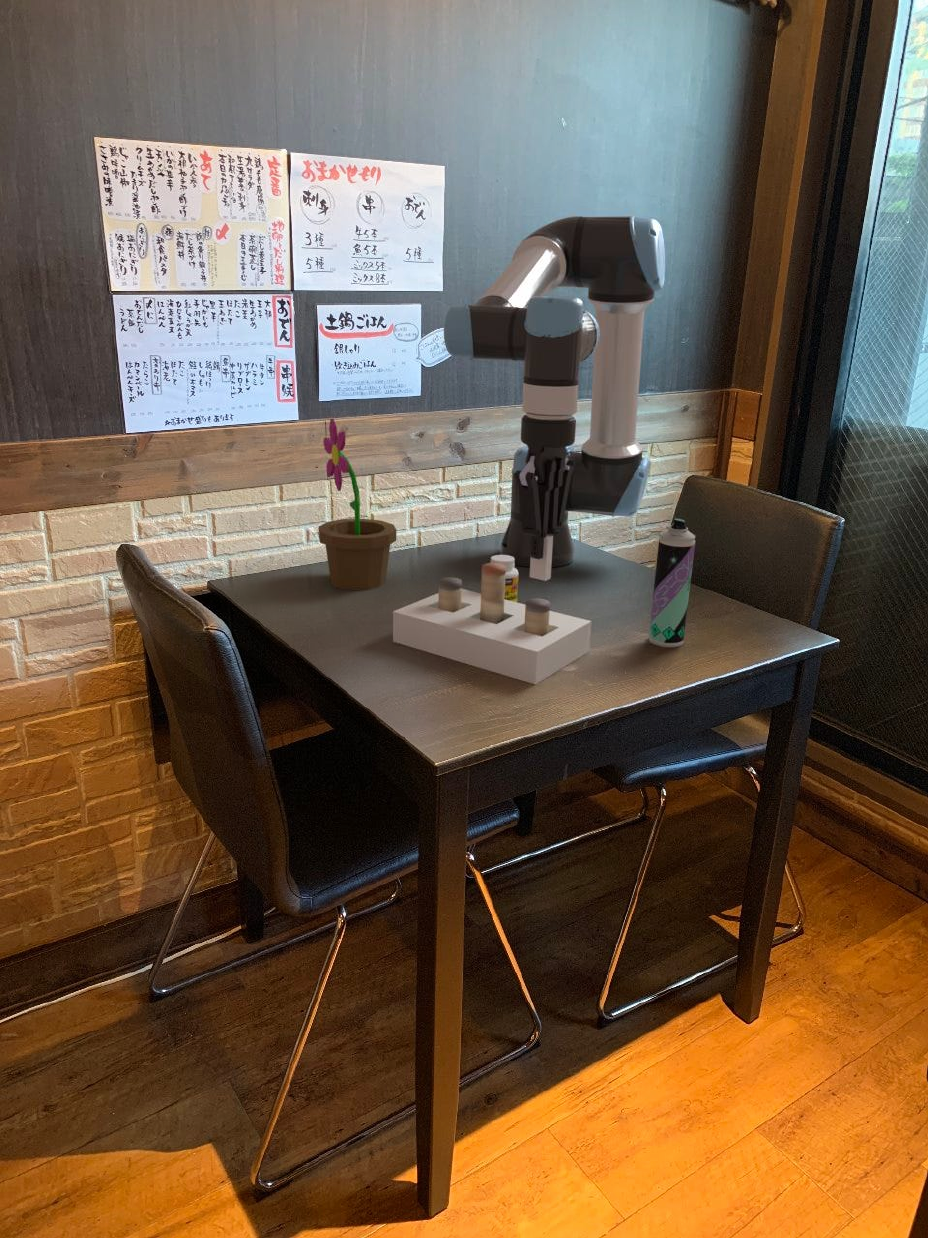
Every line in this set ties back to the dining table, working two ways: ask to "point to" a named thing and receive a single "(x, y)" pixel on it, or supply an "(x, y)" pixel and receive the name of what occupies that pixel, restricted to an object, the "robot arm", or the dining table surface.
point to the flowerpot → (353, 532)
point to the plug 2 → (492, 592)
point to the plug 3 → (537, 616)
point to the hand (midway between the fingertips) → (540, 577)
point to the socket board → (492, 637)
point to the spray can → (672, 585)
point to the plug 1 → (450, 594)
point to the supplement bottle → (508, 576)
